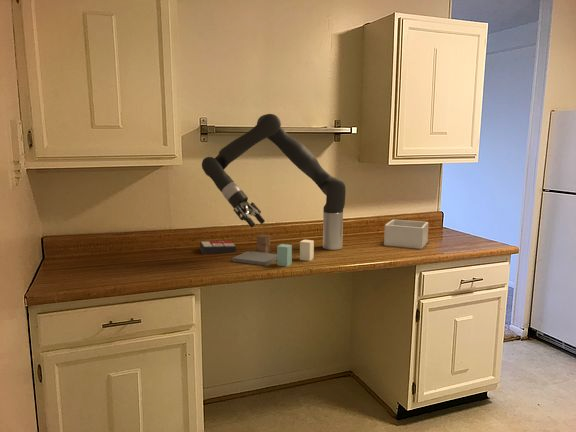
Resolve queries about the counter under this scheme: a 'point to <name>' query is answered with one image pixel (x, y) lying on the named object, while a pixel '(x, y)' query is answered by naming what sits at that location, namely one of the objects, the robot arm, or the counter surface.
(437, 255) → the counter surface
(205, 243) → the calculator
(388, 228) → the box
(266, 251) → the walnut block
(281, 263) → the teal block
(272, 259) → the grey flat slab
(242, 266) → the counter surface
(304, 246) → the cream block
